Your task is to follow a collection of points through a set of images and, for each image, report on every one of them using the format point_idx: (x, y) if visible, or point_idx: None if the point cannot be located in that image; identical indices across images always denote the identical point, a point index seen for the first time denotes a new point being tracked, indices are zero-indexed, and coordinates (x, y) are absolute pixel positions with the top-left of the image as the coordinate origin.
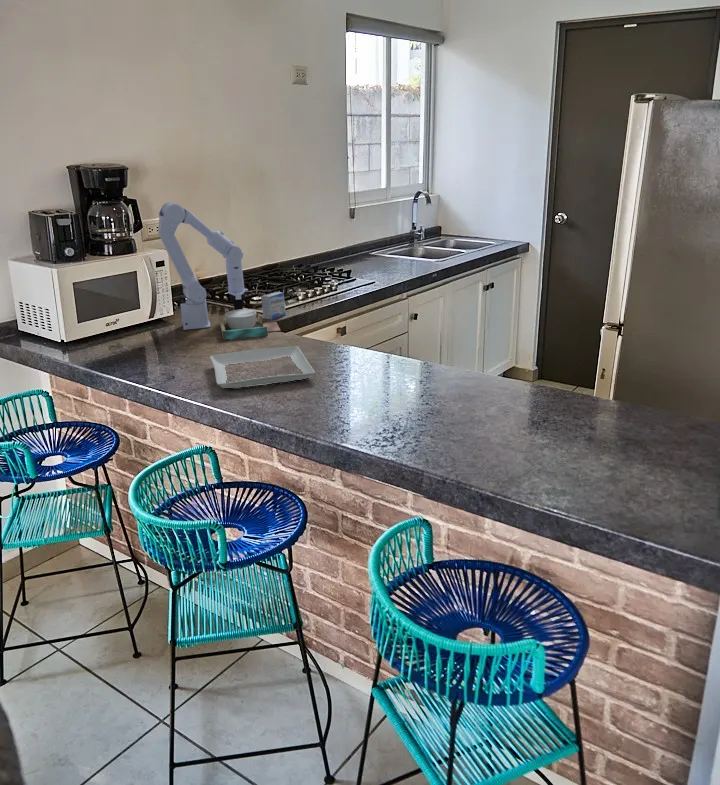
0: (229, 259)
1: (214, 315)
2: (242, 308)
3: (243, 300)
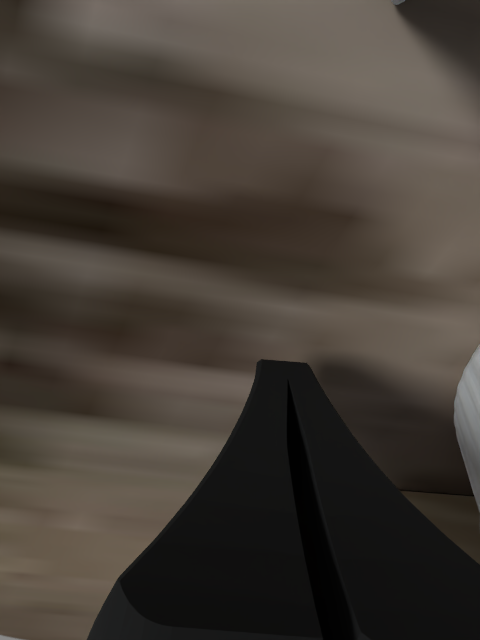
0: None
1: (12, 492)
2: (341, 420)
3: (476, 575)
